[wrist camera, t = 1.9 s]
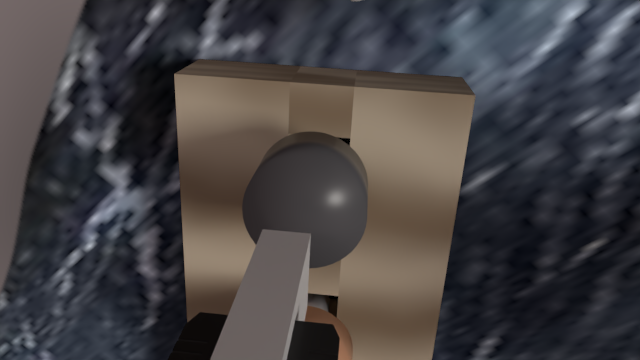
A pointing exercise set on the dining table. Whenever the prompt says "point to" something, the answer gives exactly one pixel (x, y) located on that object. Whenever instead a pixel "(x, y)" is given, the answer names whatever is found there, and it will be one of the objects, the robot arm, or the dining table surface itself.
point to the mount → (383, 187)
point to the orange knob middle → (329, 322)
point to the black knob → (310, 194)
